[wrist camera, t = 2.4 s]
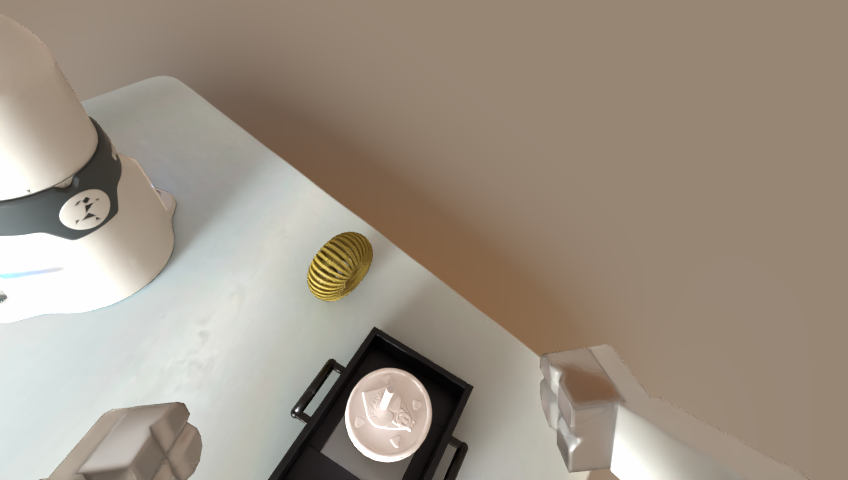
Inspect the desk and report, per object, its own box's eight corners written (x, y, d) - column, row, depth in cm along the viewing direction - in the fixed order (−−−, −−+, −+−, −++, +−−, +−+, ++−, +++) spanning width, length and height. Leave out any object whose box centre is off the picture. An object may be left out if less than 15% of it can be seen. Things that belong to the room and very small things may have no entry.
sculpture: (328, 320, 42) (328, 283, 36) (300, 298, 43) (296, 257, 37) (376, 273, 47) (384, 232, 40) (351, 253, 48) (354, 211, 41)
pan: (253, 472, 33) (247, 467, 31) (356, 329, 42) (358, 316, 40) (406, 581, 31) (412, 586, 28) (480, 405, 40) (490, 397, 37)
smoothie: (368, 386, 39) (383, 328, 28) (424, 424, 38) (462, 379, 27) (327, 448, 35) (326, 410, 24) (388, 492, 34) (415, 473, 23)
